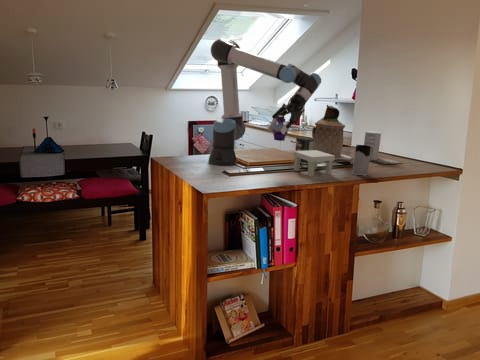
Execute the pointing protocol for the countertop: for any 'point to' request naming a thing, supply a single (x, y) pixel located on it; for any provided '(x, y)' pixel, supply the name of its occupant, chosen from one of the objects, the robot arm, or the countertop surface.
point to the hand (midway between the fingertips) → (275, 131)
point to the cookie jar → (329, 134)
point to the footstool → (313, 160)
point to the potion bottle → (278, 127)
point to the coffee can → (304, 146)
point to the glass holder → (362, 159)
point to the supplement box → (373, 142)
